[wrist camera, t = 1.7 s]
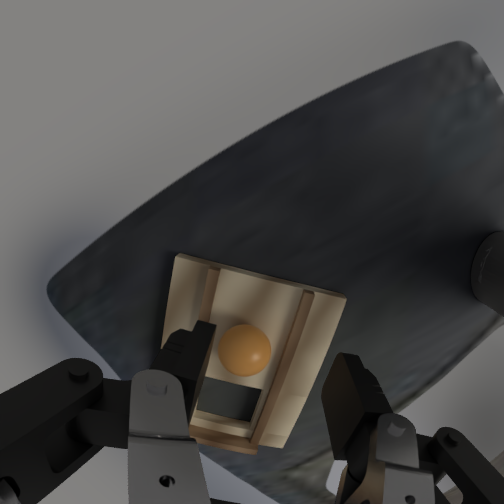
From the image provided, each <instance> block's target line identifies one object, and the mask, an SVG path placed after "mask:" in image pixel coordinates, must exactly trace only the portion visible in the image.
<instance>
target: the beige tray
mask: <svg viewBox="0 0 504 504" xmlns="http://www.w3.org/2000/svg"><path fill="white" fill-rule="evenodd" d="M346 301H347V299H346V297H345V295H344V294H342V293H337V292H333V291H329V290H325V289H321V288H317V287H312V286H308V285H304V284H300V283H296V282H292V281H288V280H284V279H280V278H276V277H272V276H268V275H264V274H260V273H256V272H252V271H248V270H244V269H240V268H236V267H232V266H228V265H224V264H220V263H216V262H213V261H209V260H205V259H201V258H197V257H193V256H189V255H186V254H182V253H179V254H178V255H177V256H175V262H174V267H173V273H172V279H171V285H170V291H169V297H168V303H167V310H166V316H165V323H164V330H163V337H162V345H161V349H162V347H163V345H164V344H165V342H166V341H167V339H168V337H169V336H170V334H171V333H173V332H174V331H176V330H178V329H180V328H181V329H184V330H188V331H191V332H192V330H193V328H194V326H195V324H196V322H197V320H201V321H204V322H208V323H212V324H216V325H217V328H216V333H215V337H214V341H213V346H212V350H211V355H210V359H209V363H208V367H207V371H206V374H205V376H207V377H211V378H215V379H219V380H223V381H227V382H231V383H235V384H240V385H244V386H249V387H253V388H258V389H262V391H261V394H260V397H259V399H258V402H257V405H256V408H255V410H254V413H253V416H252V418H251V421H250V422H247V421H242V420H237V419H232V418H228V417H224V416H219V415H215V414H211V413H207V412H203V411H200V410H196V407H197V403H196V406H195V409H194V412H193V416H192V419H191V422H190V425H189V428H188V429H189V435H190V438H195V439H196V441H197V443H201V444H205V445H209V446H213V447H218V448H222V449H227V450H231V451H236V452H242V453H247V454H253V455H256V453H257V451H258V445H264V446H271V447H277V448H283V446H284V444H285V442H286V440H287V438H288V436H289V434H290V432H291V430H292V428H293V426H294V424H295V422H296V420H297V418H298V416H299V414H300V412H301V410H302V408H303V405H304V403H305V401H306V399H307V397H308V395H309V392H310V390H311V388H312V386H313V383H314V381H315V379H316V377H317V374H318V372H319V370H320V367H321V365H322V363H323V360H324V358H325V355H326V353H327V350H328V348H329V345H330V343H331V340H332V338H333V335H334V333H335V330H336V328H337V325H338V322H339V320H340V317H341V314H342V312H343V309H344V306H345V303H346ZM243 324H246V325H252V326H255V327H257V328H259V329H260V330H262V331H263V332H264V333H265V334H266V336H267V337H268V339H269V341H270V344H271V357H270V360H269V363H268V364H267V366H266V367H265V368H264V369H263V370H262V371H261V372H259V373H258V374H256V375H253V376H248V377H241V376H237V375H234V374H232V373H230V372H229V371H227V370H226V369H225V368H224V367H223V365H222V364H221V362H220V360H219V357H218V344H219V341H220V339H221V337H222V336H223V334H224V333H225V332H226V331H227V330H229V329H230V328H232V327H234V326H237V325H243ZM197 402H198V400H197Z"/></svg>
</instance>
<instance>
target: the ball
mask: <svg viewBox="0 0 504 504" xmlns="http://www.w3.org/2000/svg"><path fill="white" fill-rule="evenodd" d="M218 357H219V360H220V362H221V364H222V365H223V367H224V368H225V369H226V370H227V371H229V372H230V373H232V374H234V375H237V376H241V377H248V376H253V375H256V374H258V373H259V372H261V371H262V370H263V369H264V368H265V367H266V366H267V364H268V363H269V360H270V357H271V344H270V341H269V339H268V337H267V336H266V334H265V333H264V332H263V331H262V330H260V329H259V328H257V327H255V326H252V325H246V324H243V325H237V326H234V327H232V328H230V329H229V330H227V331H226V332H225V333H224V334H223V336H222V337H221V339H220V341H219V344H218Z"/></svg>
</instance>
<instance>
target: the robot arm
mask: <svg viewBox="0 0 504 504" xmlns="http://www.w3.org/2000/svg"><path fill="white" fill-rule="evenodd" d="M471 285H472V290H473V292H474V295H475V296H476V298H477V299H478V300H479V301H481V302H482V303H484V304H485V305H487V306H488V307H490V308H491V309H493V310H494V311H496V312H497V313H498V314H500V315H501V316H503V317H504V232H501V231H499V232H495V233H493V234H491V235H489V236H488V237H487V238H486V239H485V240H484V241H483V242H482V244H481V245H480V247H479V249H478V250H477V252H476V255H475V258H474V260H473V264H472V269H471ZM216 328H217V325H216V324H212V323H208V322H204V321H201V320H197V322H196V324H195V326H194V328H193V330H192V332H191V331H188V330H184V329H181V328H180V329H178V330H176V331H174V332H173V333H171V334H170V336H169V337H168V339H167V341H166V342H165V344H164V345H163V347H162V349H161V350H160V352H159V354H158V355H157V357H156V358H155V360H154V362H153V363H152V365H151V367H150V368H149V370H144V371H141V372H139V373H137V374H136V375H135V376H134V377H133V379H132V380H129V381H122V380H114V379H107V378H103V373H102V370H101V369H100V368H99V366H98V365H96V364H95V363H93V362H91V361H89V360H86V359H81V358H70V359H66V360H64V361H61V362H60V363H58V364H56V365H54V366H52V367H50V368H48V369H47V370H45V371H43V372H41V373H39V374H37V375H35V376H34V377H32V378H30V379H28V380H26V381H24V382H22V383H20V384H18V385H17V386H15V387H13V388H11V389H9V390H7V391H5V392H3V393H1V394H0V504H37V503H38V502H39V501H41V500H42V499H43V498H44V497H46V496H47V495H48V494H49V493H50V492H52V491H53V490H54V489H55V488H57V487H58V486H59V485H60V484H61V483H63V482H64V481H65V480H66V479H67V478H68V477H70V476H71V475H72V474H73V473H74V472H76V471H77V470H78V469H79V468H80V467H81V466H82V465H84V464H85V463H86V462H87V461H88V460H90V459H91V458H92V457H93V456H94V455H95V454H96V453H98V452H99V451H100V450H101V449H102V448H103V447H104V446H107V447H114V448H122V449H128V494H129V504H240V503H234V502H228V501H222V500H217V499H212V498H209V494H208V490H207V485H206V481H205V477H204V473H203V468H202V463H201V459H200V454H199V449H198V445H197V441H196V439H195V438H190V435H189V429H188V428H189V425H190V422H191V419H192V416H193V412H194V409H195V406H196V403H197V400H198V397H199V393H200V390H201V387H202V384H203V381H204V378H205V374H206V371H207V367H208V363H209V359H210V355H211V350H212V346H213V341H214V337H215V333H216ZM321 399H322V403H323V408H324V413H325V417H326V422H327V427H328V431H329V436H330V441H331V446H332V451H333V455H334V460H347V463H348V464H347V466H346V467H345V468H344V470H343V471H342V474H341V478H340V483H339V487H338V491H337V495H336V499H335V503H334V504H450V503H449V501H448V500H447V499H446V497H445V496H444V495H443V493H442V492H441V491H440V490H439V488H438V487H437V486H436V484H437V483H438V482H439V481H440V480H441V479H442V478H443V477H444V476H445V475H446V474H447V475H448V476H449V477H450V478H451V479H452V481H453V482H454V483H455V484H456V485H457V487H458V488H459V489H460V490H461V492H462V493H463V502H462V504H504V478H503V476H502V475H501V474H500V473H499V472H498V471H497V470H496V469H495V468H494V467H493V466H492V465H491V464H490V462H489V461H488V460H487V459H486V458H485V457H484V456H483V455H482V454H481V453H480V452H479V451H478V450H477V449H476V448H475V447H474V446H473V445H472V443H471V442H470V441H469V440H468V439H467V438H466V437H465V436H464V435H463V434H462V433H460V432H459V431H458V430H456V429H453V428H450V427H442V428H440V429H439V430H438V431H437V432H436V433H435V435H434V436H433V437H429V436H424V435H420V434H416V429H415V427H414V425H413V424H412V423H411V422H410V421H409V420H408V419H407V418H405V417H403V416H401V415H398V414H395V413H393V411H392V409H391V407H390V405H389V403H388V401H387V399H386V397H385V395H384V394H383V391H382V389H381V387H380V385H379V383H378V381H377V379H376V377H375V376H374V375H373V374H372V373H371V372H370V371H369V370H368V369H365V368H364V366H363V364H362V362H361V360H360V358H359V356H358V355H353V354H347V353H342V352H340V353H338V354H337V356H336V358H335V360H334V362H333V365H332V367H331V369H330V372H329V374H328V376H327V378H326V380H325V383H324V385H323V388H322V394H321Z"/></svg>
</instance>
